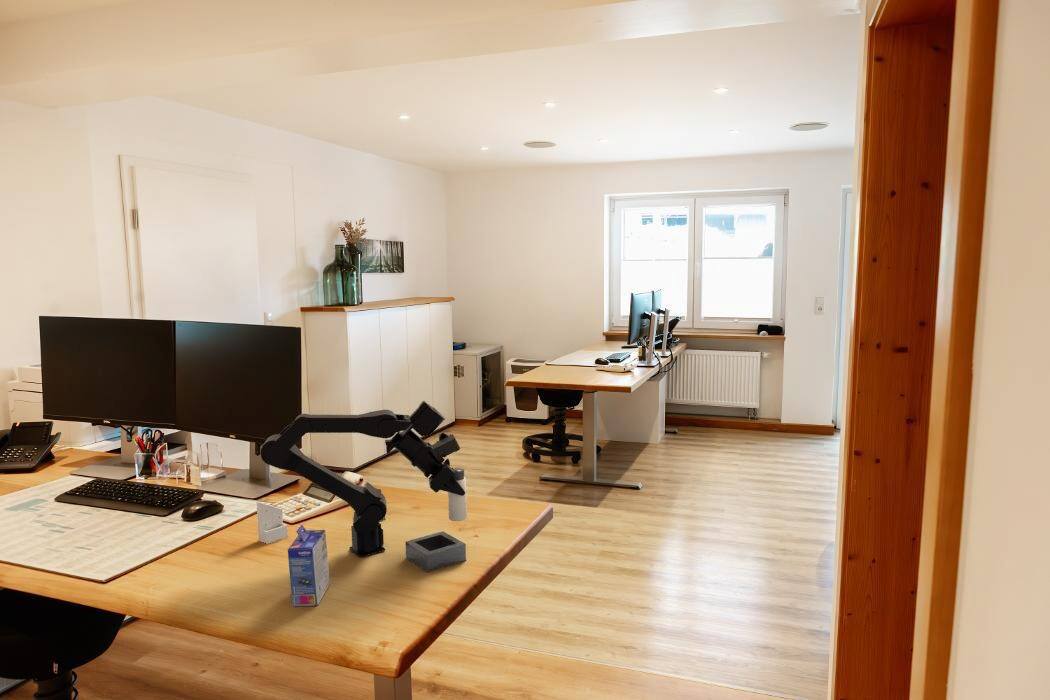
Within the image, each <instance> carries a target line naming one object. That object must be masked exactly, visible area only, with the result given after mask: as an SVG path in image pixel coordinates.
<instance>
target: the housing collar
mask: <svg viewBox="0 0 1050 700" xmlns="http://www.w3.org/2000/svg"><path fill="white" fill-rule="evenodd" d="M466 551H467V549H466V543H465V542H463V541H462V540H460V539H458V538H456V537H454V536H452V535H450V534H449V533H447V532H446V531H444V530H442V531H438V532H435V533H432V534H427V535H425V536H420V537H417V538H414V539H410V540H407V541H405V558H406V559H407V560H408V561H409V562H411V563H413V564H414V565H415V566H417V567H419V568H420V569H422V570H423V571H425V573H431V572H434V571H437V570H441V569H444V568H447V567H451V566H453V565H456V564H460V563H462V562H466V561H467V553H466Z"/></svg>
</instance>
